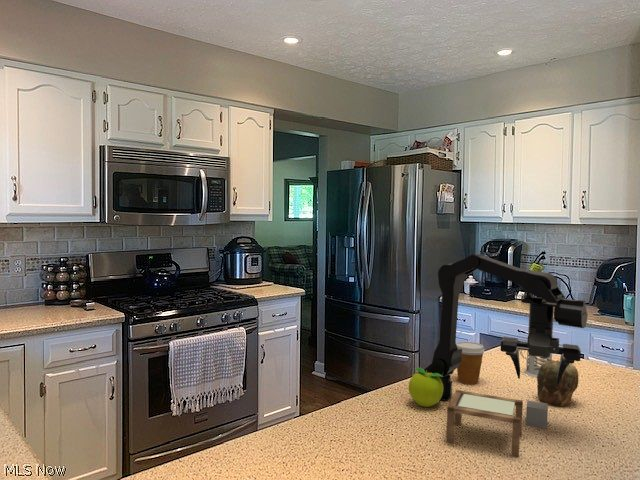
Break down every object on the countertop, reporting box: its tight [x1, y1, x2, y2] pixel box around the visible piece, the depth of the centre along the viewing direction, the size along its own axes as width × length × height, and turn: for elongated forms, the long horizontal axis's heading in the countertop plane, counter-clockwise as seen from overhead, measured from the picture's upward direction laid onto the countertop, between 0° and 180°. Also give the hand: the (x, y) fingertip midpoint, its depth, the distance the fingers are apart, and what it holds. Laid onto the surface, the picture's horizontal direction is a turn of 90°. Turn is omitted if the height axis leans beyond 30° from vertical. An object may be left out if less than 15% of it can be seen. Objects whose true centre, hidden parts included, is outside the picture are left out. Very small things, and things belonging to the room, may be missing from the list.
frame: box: [445, 389, 524, 458], centre depth 121 cm, size 16×13×8 cm
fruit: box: [408, 367, 443, 408], centre depth 142 cm, size 9×9×10 cm
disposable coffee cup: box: [456, 341, 486, 385], centre depth 163 cm, size 10×10×12 cm
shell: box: [536, 359, 580, 407], centre depth 147 cm, size 11×11×12 cm
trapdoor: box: [457, 394, 516, 416], centre depth 121 cm, size 12×9×1 cm
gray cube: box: [525, 399, 549, 430], centre depth 131 cm, size 5×5×5 cm
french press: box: [519, 334, 554, 379], centre depth 172 cm, size 10×12×25 cm
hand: (538, 381), depth 131 cm, fingers open, 9 cm apart
